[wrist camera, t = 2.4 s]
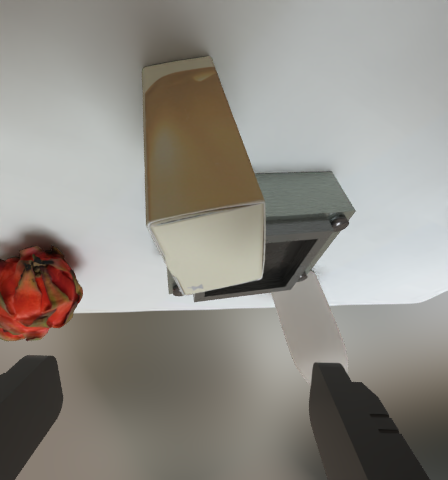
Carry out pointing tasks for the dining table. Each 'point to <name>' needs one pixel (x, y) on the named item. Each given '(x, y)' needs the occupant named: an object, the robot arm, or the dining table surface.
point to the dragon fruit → (36, 294)
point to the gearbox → (290, 231)
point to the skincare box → (199, 180)
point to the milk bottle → (309, 326)
